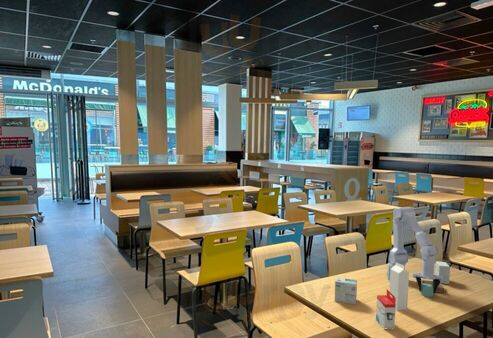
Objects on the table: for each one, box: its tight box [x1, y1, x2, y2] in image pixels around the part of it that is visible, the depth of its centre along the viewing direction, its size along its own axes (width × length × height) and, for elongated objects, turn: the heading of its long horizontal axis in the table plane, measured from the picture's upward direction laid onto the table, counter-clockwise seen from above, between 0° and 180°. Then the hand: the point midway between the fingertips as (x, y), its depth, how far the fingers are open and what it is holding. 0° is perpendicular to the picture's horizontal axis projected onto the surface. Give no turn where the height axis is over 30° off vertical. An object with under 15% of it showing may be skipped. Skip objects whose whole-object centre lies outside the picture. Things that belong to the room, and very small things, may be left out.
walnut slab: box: [421, 279, 445, 294], centre depth 188 cm, size 9×9×3 cm
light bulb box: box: [334, 276, 358, 305], centre depth 173 cm, size 11×7×11 cm, turn 71°
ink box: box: [375, 289, 396, 330], centre depth 150 cm, size 8×5×15 cm, turn 3°
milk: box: [389, 262, 410, 311], centre depth 166 cm, size 6×6×22 cm
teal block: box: [420, 283, 434, 298], centre depth 181 cm, size 5×5×5 cm
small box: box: [434, 261, 451, 285], centre depth 198 cm, size 8×6×10 cm
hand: (426, 291), depth 181 cm, fingers open, 6 cm apart
